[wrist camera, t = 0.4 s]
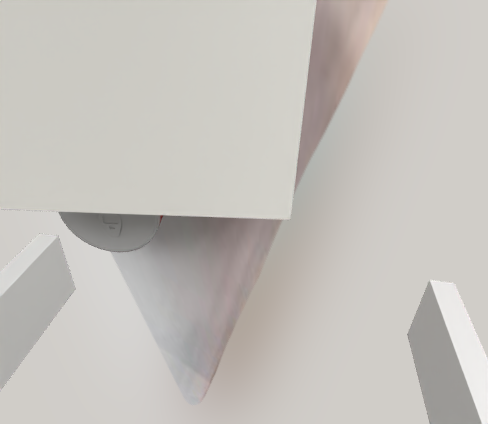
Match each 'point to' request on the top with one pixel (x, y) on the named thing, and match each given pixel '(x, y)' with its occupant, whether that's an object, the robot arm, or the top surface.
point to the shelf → (153, 105)
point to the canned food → (113, 229)
